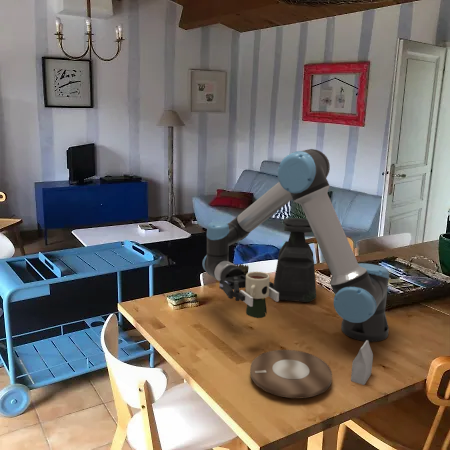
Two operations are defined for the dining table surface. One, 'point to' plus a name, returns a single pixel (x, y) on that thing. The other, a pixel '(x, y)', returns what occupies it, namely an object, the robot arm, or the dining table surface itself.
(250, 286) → the character mug
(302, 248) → the dark grey tapered pedestal
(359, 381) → the grey gabled block
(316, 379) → the turntable
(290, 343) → the dining table surface
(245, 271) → the cup
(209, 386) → the dining table surface
